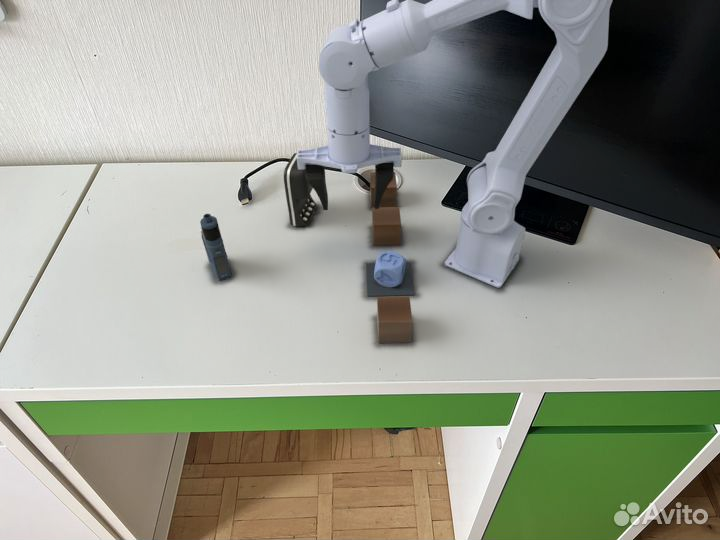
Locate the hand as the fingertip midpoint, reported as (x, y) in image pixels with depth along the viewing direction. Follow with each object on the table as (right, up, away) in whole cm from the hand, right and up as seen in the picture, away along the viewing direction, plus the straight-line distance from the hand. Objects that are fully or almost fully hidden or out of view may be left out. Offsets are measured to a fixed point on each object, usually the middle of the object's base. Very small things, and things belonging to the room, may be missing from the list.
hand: (351, 205), depth 80 cm
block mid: (+6, -4, +9) cm, 11 cm away
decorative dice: (+6, -11, +2) cm, 13 cm away
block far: (+5, +3, +16) cm, 17 cm away
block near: (+6, -18, -5) cm, 20 cm away
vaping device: (-21, -10, +4) cm, 23 cm away
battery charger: (-8, 0, +13) cm, 16 cm away
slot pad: (+6, -11, +2) cm, 13 cm away
